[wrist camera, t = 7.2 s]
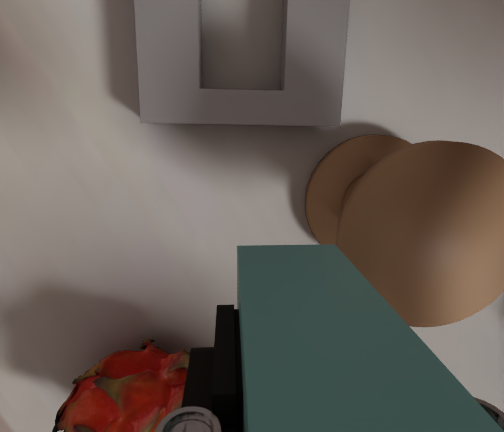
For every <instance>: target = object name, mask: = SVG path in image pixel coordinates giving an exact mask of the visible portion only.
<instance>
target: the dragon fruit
mask: <svg viewBox="0 0 504 432" xmlns="http://www.w3.org/2000/svg"><path fill="white" fill-rule="evenodd" d="M143 342H144V343H143V344H142V345H141V347H140V348H141V349H144V350H143V351H129V350H125V351H118V352H115V353H112V354H111V355H109V356H107V357H105V358H104V359H102V360H101V361H100V362H99V363H98V364H96V365H95V366H94V367H93V368H91V369H90V370H88V371H87V372H86V373H85V374H84V375H82V376H79V377H78V378H76V379H74V381H73V382H72V383H73V384H75V383H76V385H75V387H74V388H73V390H72V392H71V394H70V396H69V397H68V399H67V400H66V401H65V402H64V403H63V404H62V406H61V407H60V409H59V410H58V412H57V415H56V419H55V426H54V428H53V431H52V432H57V431H59V430H60V431H62V430H64V432H156V428H157V426H158V425H159V423H160V422H161V420H162V419H163V418H164V417H166V416H167V415H168V414H169V413H171V412H173V411H175V410H177V409H180V408H181V405H182V399H183V393H184V387H185V381H186V376H187V370H188V364H189V358H190V353H189V352H187V351H186V350H185V349H184V350H181V351H179V352H177V353H176V354H174V353H173V354H170V355H169V354H167V353H166V352H164V351H162V350H160V349H159V348H158V347H156V346H155V345H154V344H153V343H152V342H154V340H152V339H146V340H144V341H143Z"/></svg>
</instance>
